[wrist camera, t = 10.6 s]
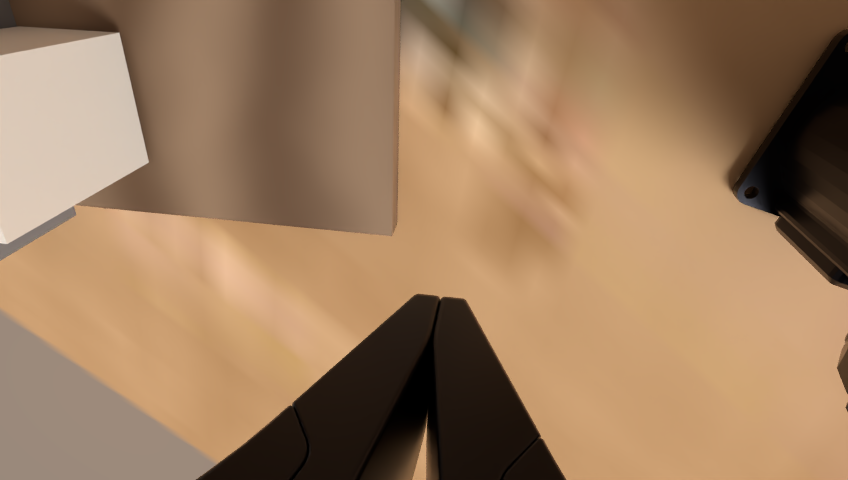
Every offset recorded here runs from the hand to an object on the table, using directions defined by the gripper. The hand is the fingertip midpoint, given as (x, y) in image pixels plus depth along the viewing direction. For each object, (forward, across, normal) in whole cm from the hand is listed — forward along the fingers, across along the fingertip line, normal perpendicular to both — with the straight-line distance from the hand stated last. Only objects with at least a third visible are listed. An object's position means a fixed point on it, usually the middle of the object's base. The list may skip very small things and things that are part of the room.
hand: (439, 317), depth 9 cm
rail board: (+13, +13, 0) cm, 19 cm away
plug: (+11, +16, 0) cm, 20 cm away
